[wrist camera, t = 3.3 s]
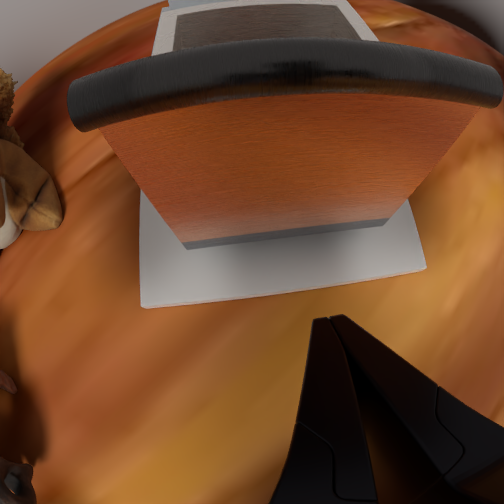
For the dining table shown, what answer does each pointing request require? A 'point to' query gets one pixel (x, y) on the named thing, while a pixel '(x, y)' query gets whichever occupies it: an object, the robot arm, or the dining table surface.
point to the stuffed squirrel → (22, 180)
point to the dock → (268, 255)
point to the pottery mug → (15, 468)
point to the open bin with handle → (279, 119)
